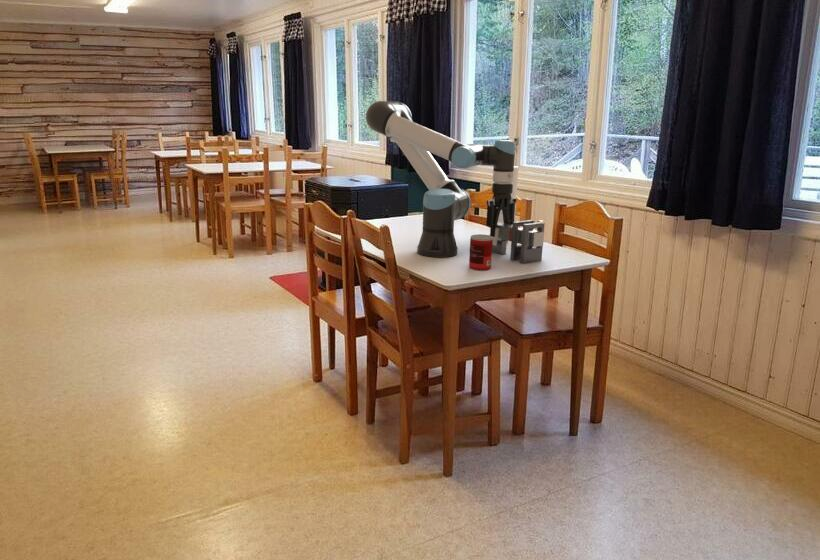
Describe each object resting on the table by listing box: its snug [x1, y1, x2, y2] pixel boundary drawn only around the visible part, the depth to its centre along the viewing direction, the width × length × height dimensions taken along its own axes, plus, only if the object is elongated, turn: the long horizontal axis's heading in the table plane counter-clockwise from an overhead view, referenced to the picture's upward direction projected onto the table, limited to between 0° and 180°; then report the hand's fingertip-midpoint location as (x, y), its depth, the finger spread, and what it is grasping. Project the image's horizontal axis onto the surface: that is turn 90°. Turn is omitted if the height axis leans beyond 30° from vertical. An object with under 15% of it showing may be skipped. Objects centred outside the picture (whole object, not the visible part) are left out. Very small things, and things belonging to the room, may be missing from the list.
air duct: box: [493, 222, 545, 248], centre depth 228 cm, size 22×5×5 cm, turn 37°
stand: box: [492, 238, 508, 255], centre depth 238 cm, size 2×11×5 cm, turn 36°
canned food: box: [468, 234, 493, 271], centre depth 212 cm, size 8×8×11 cm
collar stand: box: [509, 219, 546, 265], centre depth 224 cm, size 12×7×14 cm, turn 126°
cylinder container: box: [497, 165, 519, 225], centre depth 266 cm, size 9×9×30 cm
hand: (499, 243), depth 236 cm, fingers closed on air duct, 5 cm apart
